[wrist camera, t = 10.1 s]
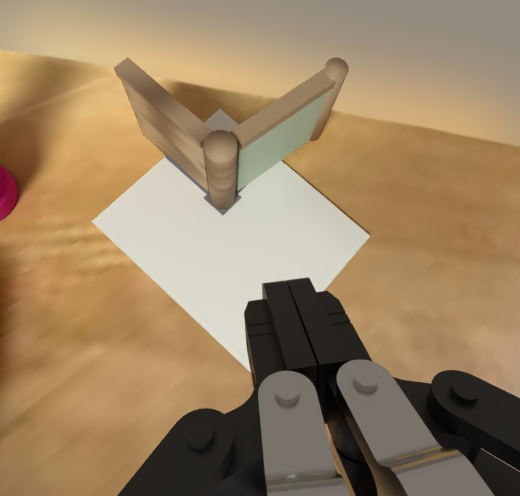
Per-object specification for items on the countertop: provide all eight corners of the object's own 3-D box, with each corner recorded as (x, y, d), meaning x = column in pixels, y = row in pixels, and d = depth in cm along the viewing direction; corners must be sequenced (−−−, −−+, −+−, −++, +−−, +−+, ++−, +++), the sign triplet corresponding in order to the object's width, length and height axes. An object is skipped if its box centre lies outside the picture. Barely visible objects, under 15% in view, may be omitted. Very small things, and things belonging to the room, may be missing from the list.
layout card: (369, 236, 36) (370, 235, 36) (252, 373, 32) (252, 374, 32) (220, 110, 39) (219, 107, 38) (92, 222, 34) (91, 221, 34)
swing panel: (312, 122, 38) (338, 54, 29) (323, 134, 38) (353, 70, 29) (228, 180, 36) (228, 125, 27) (239, 194, 35) (243, 143, 27)
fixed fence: (239, 198, 36) (244, 144, 27) (223, 215, 36) (221, 166, 26) (155, 124, 38) (130, 47, 28) (137, 139, 37) (106, 66, 27)
